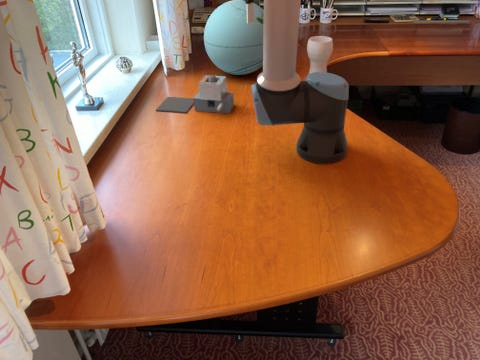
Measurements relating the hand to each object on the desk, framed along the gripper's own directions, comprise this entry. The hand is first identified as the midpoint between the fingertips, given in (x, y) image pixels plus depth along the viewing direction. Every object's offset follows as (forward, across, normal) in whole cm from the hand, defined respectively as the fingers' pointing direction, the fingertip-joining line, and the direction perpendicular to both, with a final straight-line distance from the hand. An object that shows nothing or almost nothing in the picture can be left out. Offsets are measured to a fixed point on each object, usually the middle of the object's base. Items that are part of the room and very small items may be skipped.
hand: (259, 26), depth 142 cm
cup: (+26, +7, -33) cm, 43 cm away
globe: (+26, +27, -5) cm, 38 cm away
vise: (+26, -2, +21) cm, 34 cm away
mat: (+26, +9, +31) cm, 42 cm away
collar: (+21, -1, +20) cm, 29 cm away
